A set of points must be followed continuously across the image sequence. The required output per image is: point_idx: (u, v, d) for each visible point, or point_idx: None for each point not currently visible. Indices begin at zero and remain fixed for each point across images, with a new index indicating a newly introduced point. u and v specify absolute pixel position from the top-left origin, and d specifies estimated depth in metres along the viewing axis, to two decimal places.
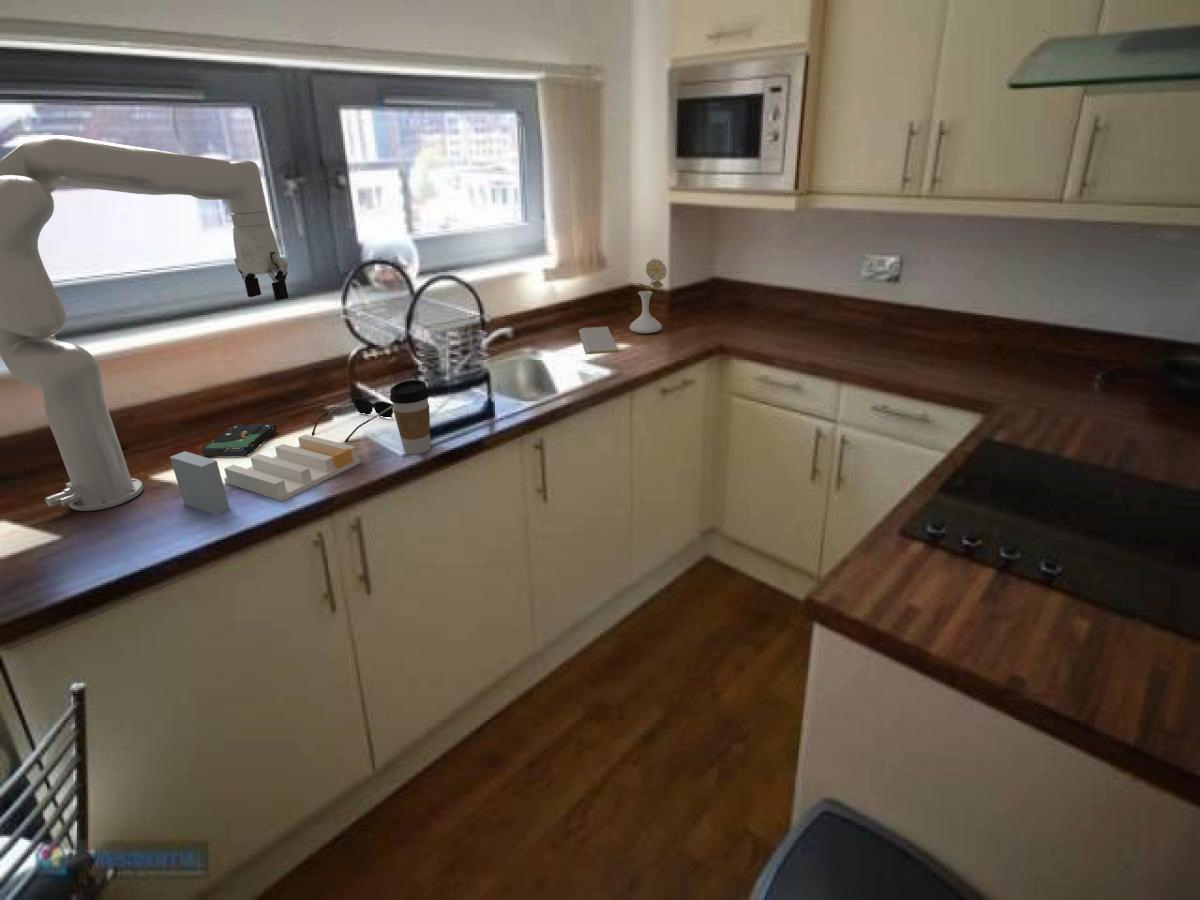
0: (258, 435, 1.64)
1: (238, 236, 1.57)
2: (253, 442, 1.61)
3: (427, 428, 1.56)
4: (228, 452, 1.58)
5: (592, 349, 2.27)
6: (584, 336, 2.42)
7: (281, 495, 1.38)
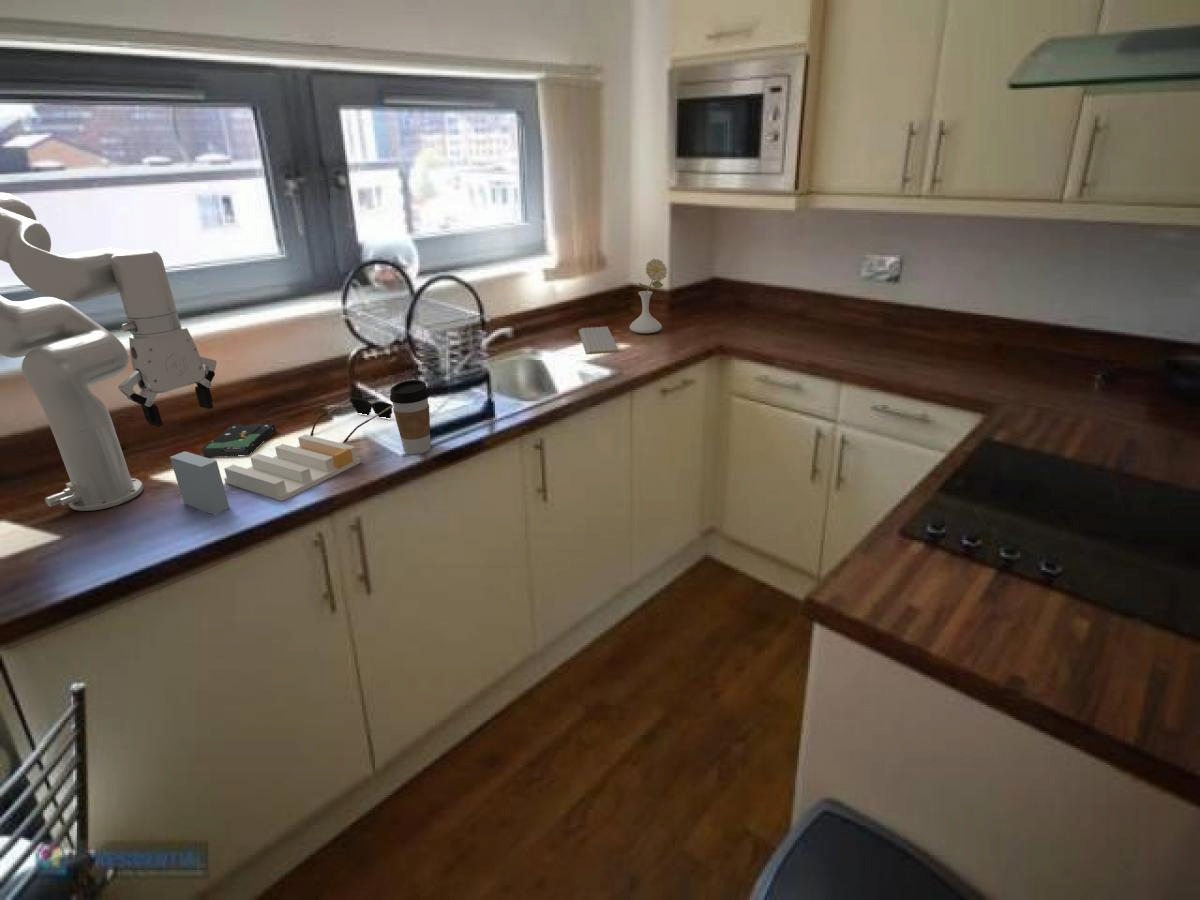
0: (258, 435, 1.64)
1: (159, 345, 1.21)
2: (254, 442, 1.61)
3: (427, 428, 1.56)
4: (229, 452, 1.58)
5: (592, 349, 2.27)
6: (584, 336, 2.41)
7: (281, 495, 1.38)
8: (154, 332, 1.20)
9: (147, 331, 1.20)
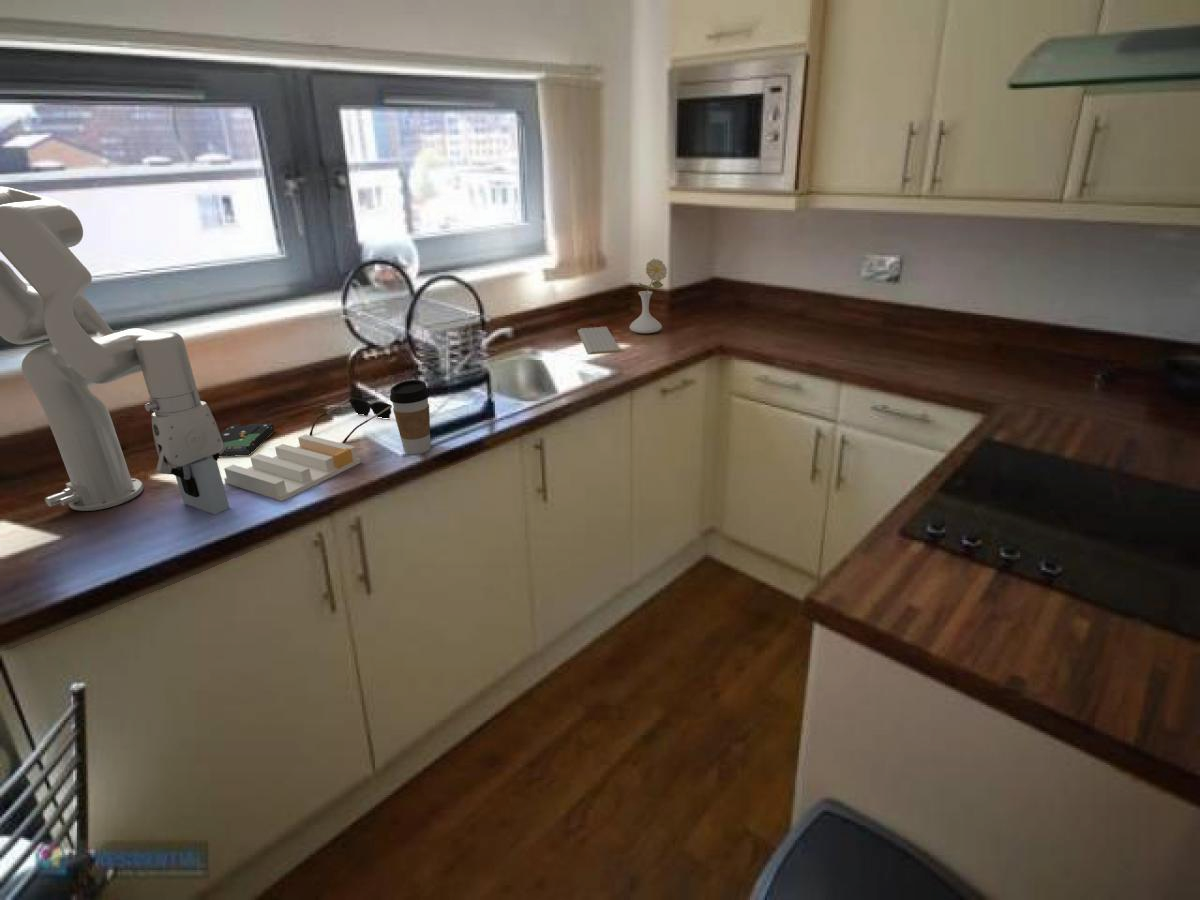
0: (258, 434, 1.65)
1: (180, 422, 1.27)
2: (254, 441, 1.61)
3: (427, 428, 1.56)
4: (229, 452, 1.58)
5: (594, 349, 2.26)
6: (584, 336, 2.41)
7: (281, 495, 1.38)
8: (175, 410, 1.25)
9: (169, 410, 1.25)
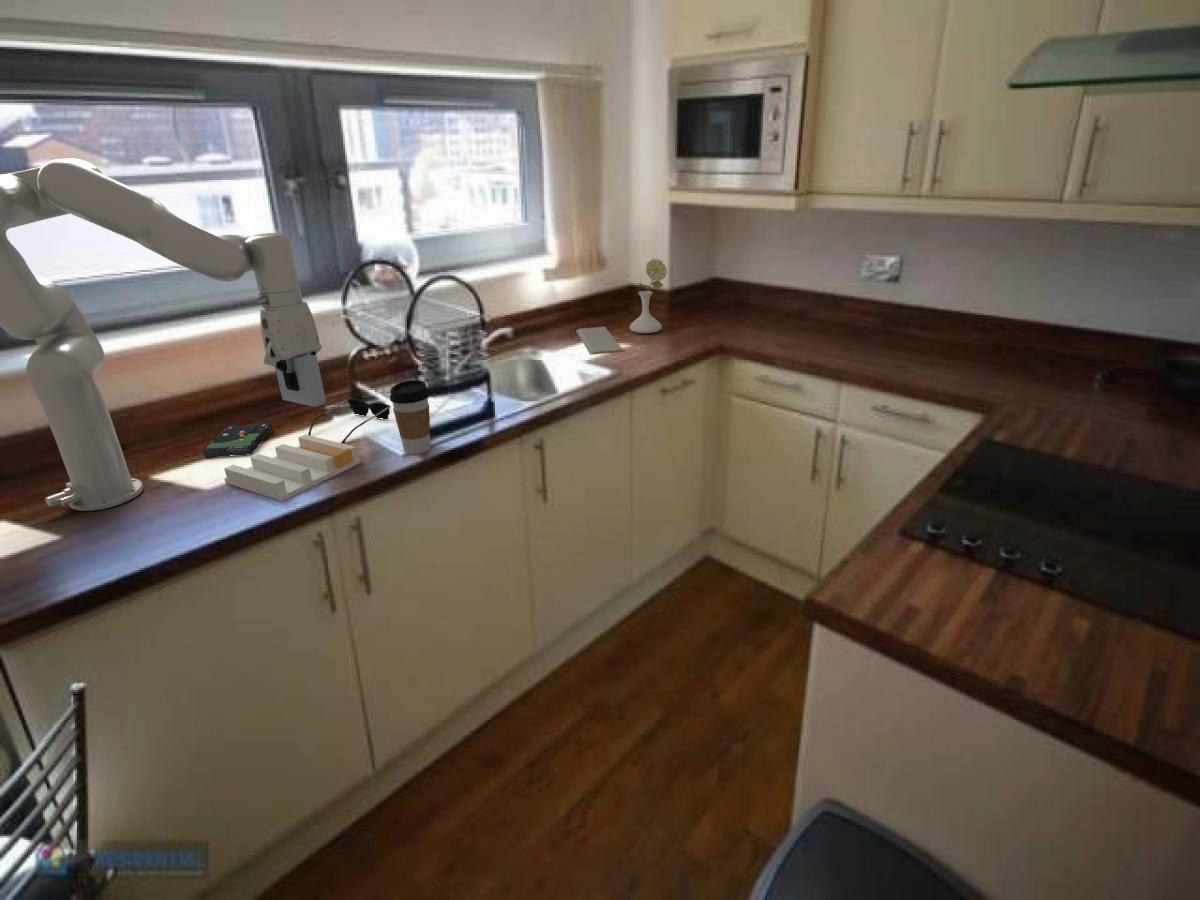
0: (257, 434, 1.65)
1: (286, 317, 1.38)
2: (255, 441, 1.62)
3: (427, 428, 1.56)
4: (231, 452, 1.58)
5: (596, 349, 2.26)
6: (584, 336, 2.41)
7: (281, 495, 1.38)
8: (283, 305, 1.37)
9: (277, 304, 1.36)
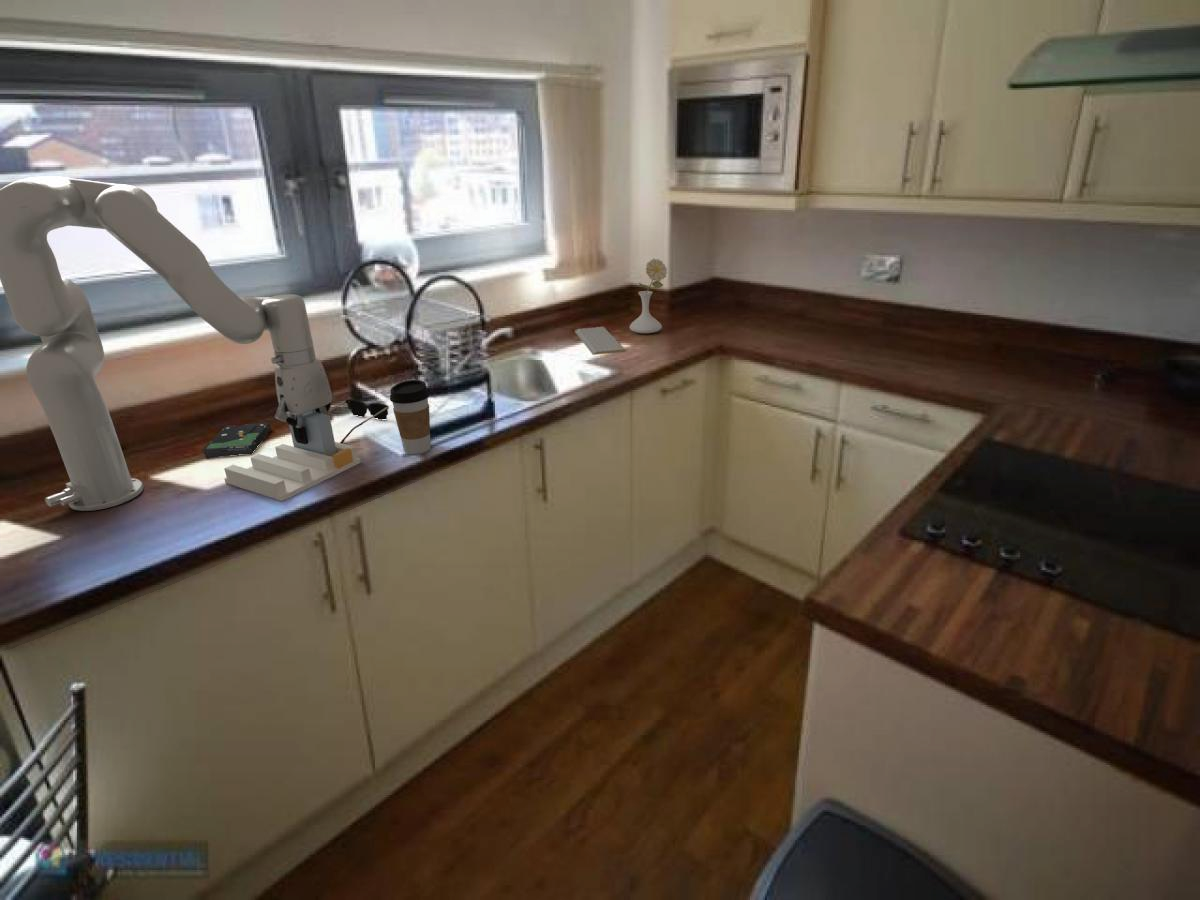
0: (257, 434, 1.65)
1: (300, 374, 1.43)
2: (255, 440, 1.62)
3: (427, 428, 1.56)
4: (232, 452, 1.58)
5: (598, 349, 2.26)
6: (584, 337, 2.41)
7: (281, 495, 1.38)
8: (297, 364, 1.42)
9: (292, 363, 1.41)
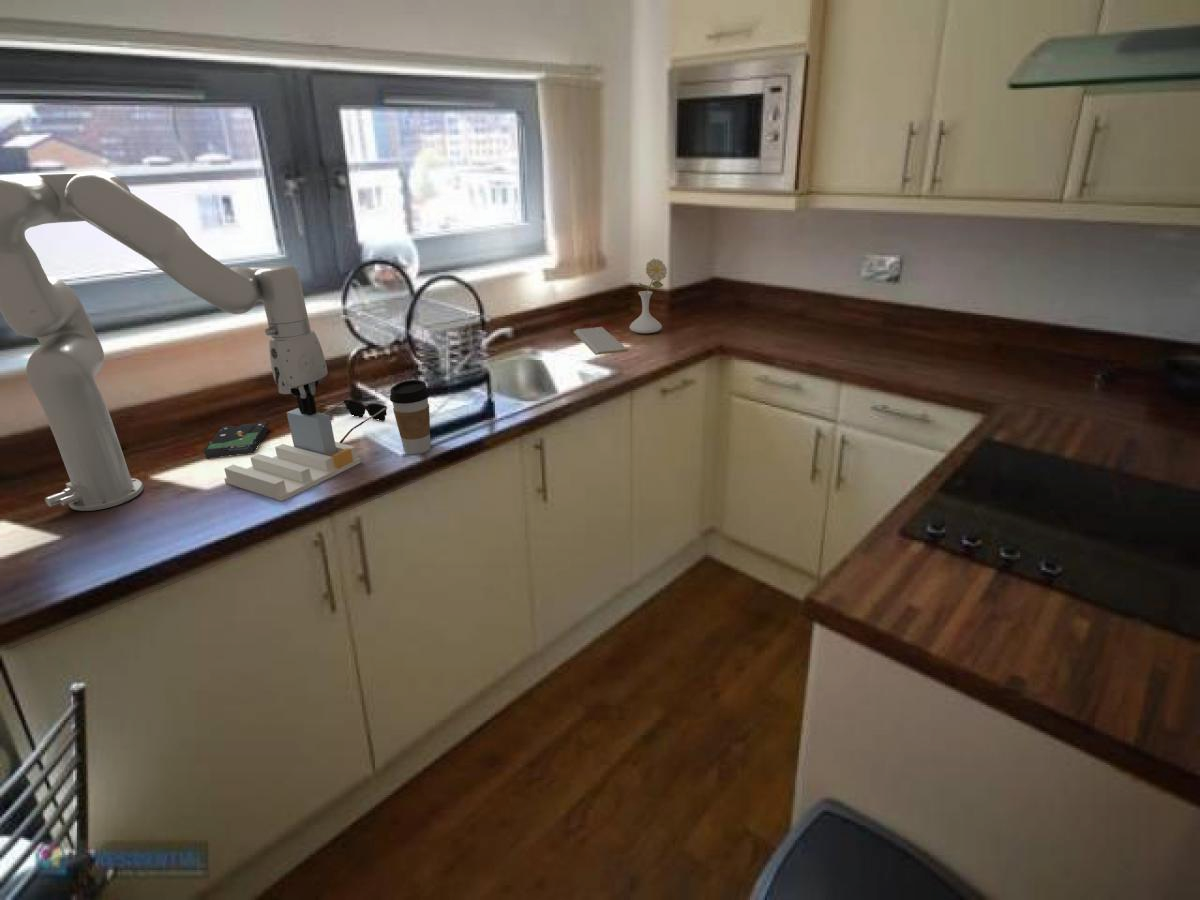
0: (257, 433, 1.65)
1: (294, 346, 1.41)
2: (255, 439, 1.62)
3: (427, 428, 1.56)
4: (233, 451, 1.59)
5: (600, 349, 2.26)
6: (584, 337, 2.40)
7: (281, 495, 1.38)
8: (291, 335, 1.40)
9: (286, 334, 1.39)
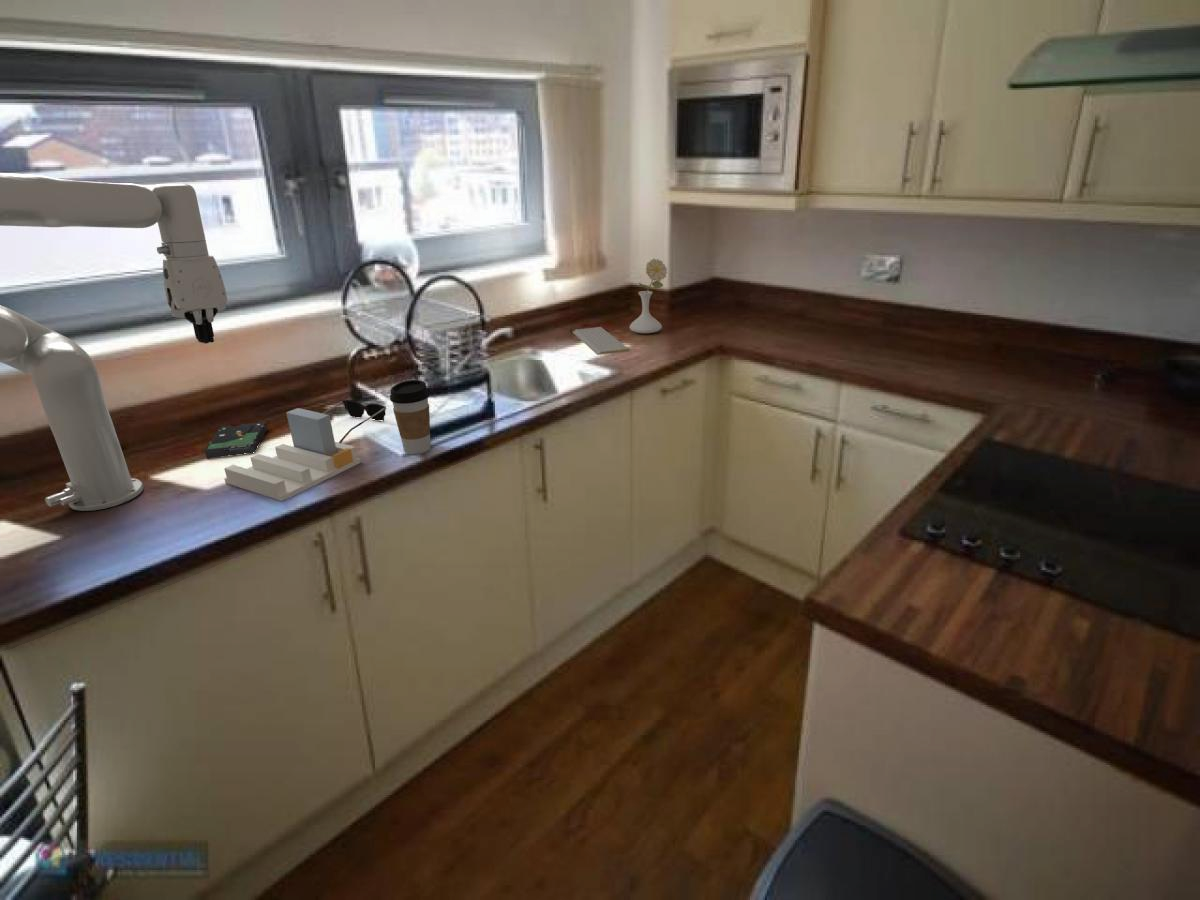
0: (256, 433, 1.65)
1: (188, 268, 1.38)
2: (256, 439, 1.62)
3: (427, 428, 1.56)
4: (234, 451, 1.59)
5: (602, 349, 2.26)
6: (584, 337, 2.40)
7: (281, 495, 1.38)
8: (184, 256, 1.36)
9: (178, 254, 1.36)
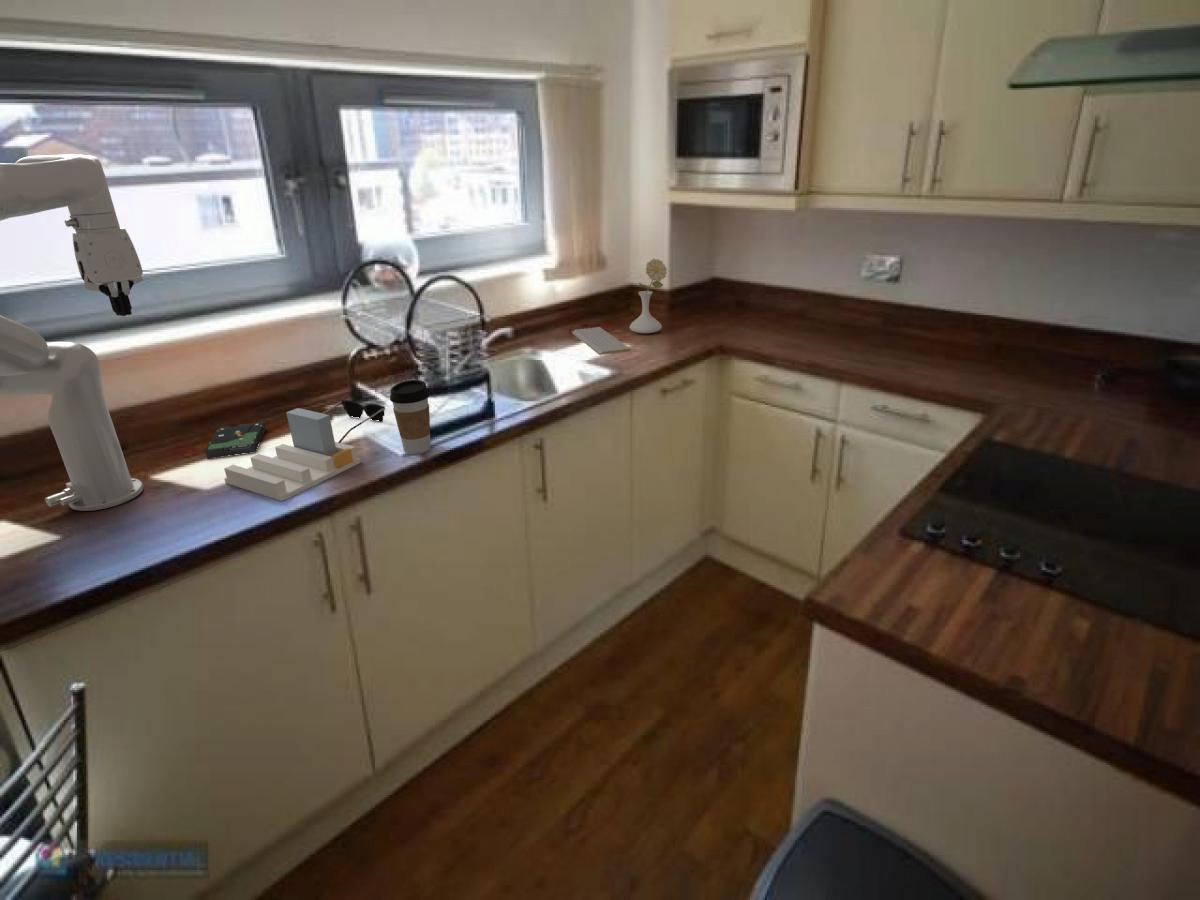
0: (256, 433, 1.66)
1: (98, 240, 1.39)
2: (256, 439, 1.63)
3: (427, 428, 1.56)
4: (234, 451, 1.59)
5: (603, 349, 2.26)
6: (584, 337, 2.40)
7: (281, 495, 1.38)
8: (93, 228, 1.37)
9: (87, 227, 1.37)
